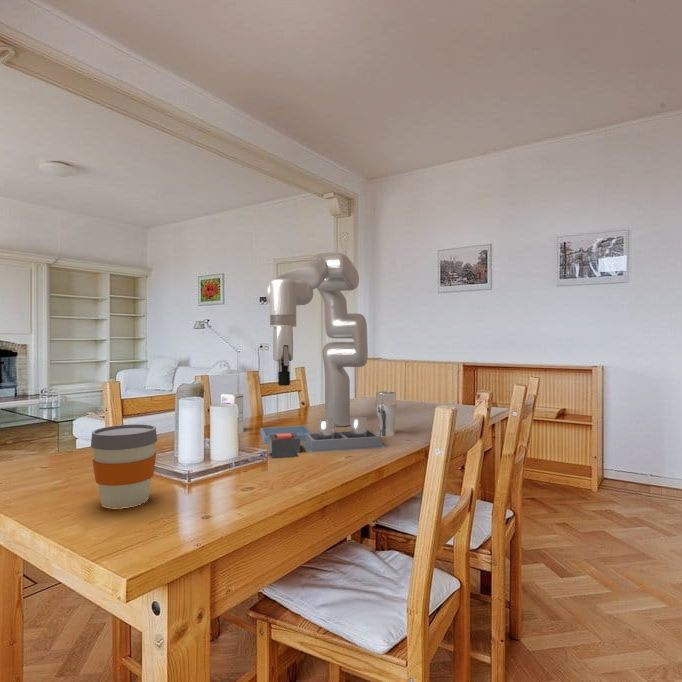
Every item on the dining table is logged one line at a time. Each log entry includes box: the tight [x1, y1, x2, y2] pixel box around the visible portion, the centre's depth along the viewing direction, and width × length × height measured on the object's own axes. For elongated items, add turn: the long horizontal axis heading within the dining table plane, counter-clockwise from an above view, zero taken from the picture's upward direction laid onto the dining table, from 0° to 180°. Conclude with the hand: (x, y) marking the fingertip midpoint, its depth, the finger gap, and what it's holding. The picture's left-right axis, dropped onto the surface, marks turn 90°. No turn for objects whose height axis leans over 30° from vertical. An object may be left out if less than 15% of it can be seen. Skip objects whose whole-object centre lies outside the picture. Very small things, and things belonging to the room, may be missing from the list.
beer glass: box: [375, 390, 397, 437], centre depth 163 cm, size 7×7×15 cm
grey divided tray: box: [300, 429, 388, 454], centre depth 147 cm, size 13×24×4 cm, turn 104°
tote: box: [259, 425, 313, 445], centre depth 159 cm, size 16×16×3 cm
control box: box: [268, 433, 301, 459], centre depth 140 cm, size 8×8×5 cm
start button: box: [276, 433, 292, 439], centre depth 140 cm, size 4×4×3 cm
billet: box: [317, 417, 336, 440], centre depth 145 cm, size 5×5×8 cm
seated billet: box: [349, 416, 368, 438], centre depth 148 cm, size 5×5×8 cm
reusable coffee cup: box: [90, 423, 158, 508], centre depth 100 cm, size 13×13×15 cm
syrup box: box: [220, 392, 244, 435], centre depth 166 cm, size 6×6×14 cm
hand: (284, 385), depth 140 cm, fingers closed
